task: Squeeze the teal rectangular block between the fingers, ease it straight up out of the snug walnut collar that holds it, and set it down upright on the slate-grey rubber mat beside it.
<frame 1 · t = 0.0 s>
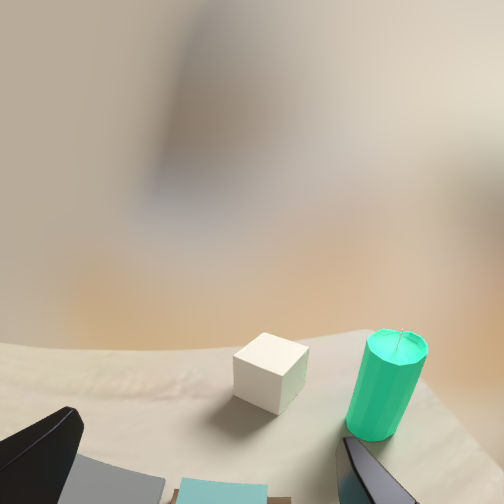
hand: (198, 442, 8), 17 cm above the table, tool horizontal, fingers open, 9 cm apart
white cube: (269, 392, 32), on the table
candle: (371, 423, 26), on the table
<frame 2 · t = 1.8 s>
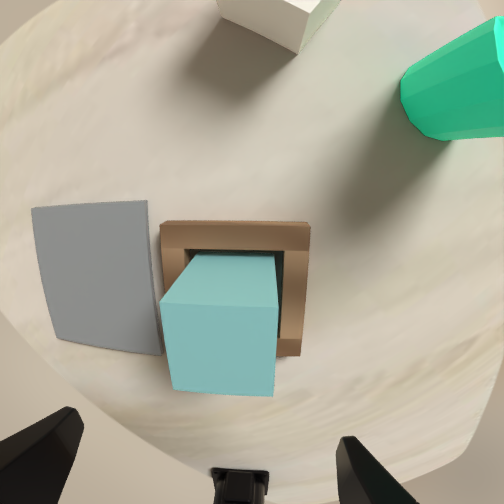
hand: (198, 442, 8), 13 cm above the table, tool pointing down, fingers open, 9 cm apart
white cube: (282, 8, 15), on the table
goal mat: (91, 279, 21), on the table
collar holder: (235, 287, 20), on the table
candle: (432, 101, 16), on the table
teal rectangular block: (236, 287, 20), resting in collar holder
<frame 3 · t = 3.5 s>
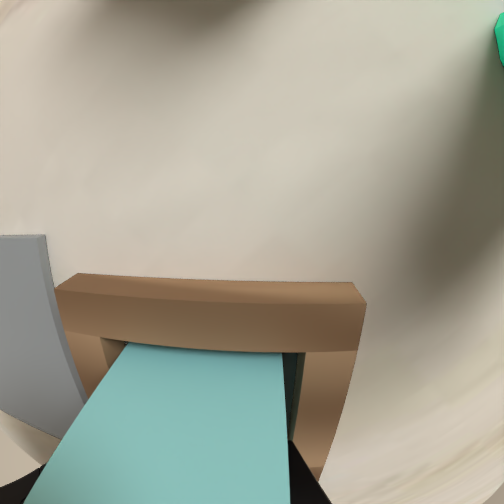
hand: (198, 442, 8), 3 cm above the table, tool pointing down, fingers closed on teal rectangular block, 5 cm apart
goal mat: (4, 347, 11), on the table
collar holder: (210, 392, 10), on the table
teal rectangular block: (210, 391, 10), resting in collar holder, touching gripper
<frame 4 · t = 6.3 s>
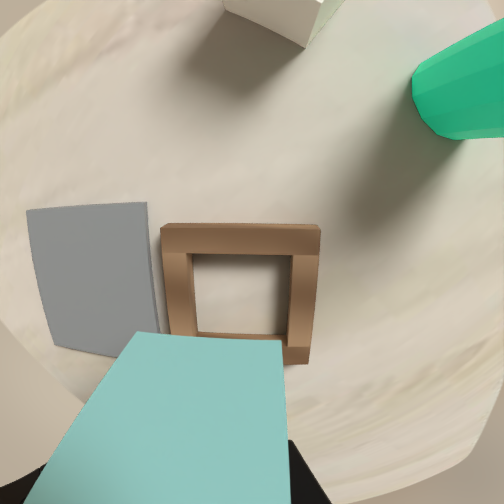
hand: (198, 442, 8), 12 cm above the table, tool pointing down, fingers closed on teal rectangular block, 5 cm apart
white cube: (288, 1, 14), on the table
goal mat: (89, 285, 20), on the table
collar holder: (241, 293, 19), on the table
candle: (444, 99, 15), on the table
teal rectangular block: (210, 391, 10), point 9 cm above the table, touching gripper
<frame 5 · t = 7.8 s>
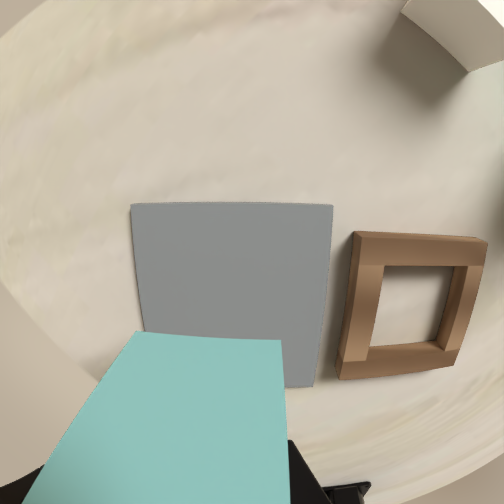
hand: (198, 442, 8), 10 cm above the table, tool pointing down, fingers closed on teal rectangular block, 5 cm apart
white cube: (447, 20, 12), on the table
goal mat: (230, 304, 17), on the table
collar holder: (410, 304, 17), on the table
teal rectangular block: (209, 391, 10), point 7 cm above the table, touching gripper
when the fingers open (4 cm above the table, at t = 9.1 s): teal rectangular block drops 1 cm, resting on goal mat.
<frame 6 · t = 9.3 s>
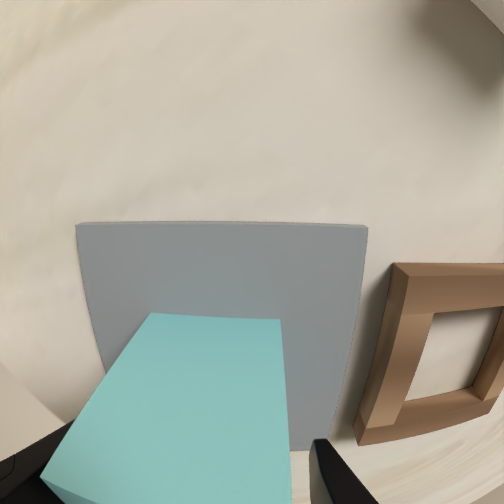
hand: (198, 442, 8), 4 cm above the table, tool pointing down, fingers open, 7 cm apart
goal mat: (216, 361, 12), on the table
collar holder: (451, 350, 12), on the table
teal rectangular block: (216, 368, 12), resting on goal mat
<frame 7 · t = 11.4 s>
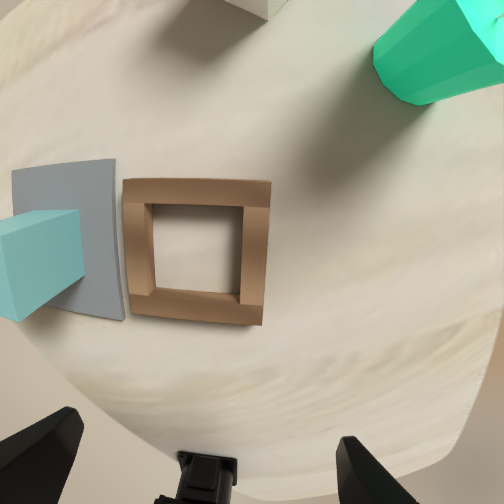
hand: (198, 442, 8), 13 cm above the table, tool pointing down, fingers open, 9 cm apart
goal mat: (61, 240, 20), on the table
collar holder: (196, 248, 19), on the table
candle: (409, 67, 15), on the table
teal rectangular block: (57, 241, 19), resting on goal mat
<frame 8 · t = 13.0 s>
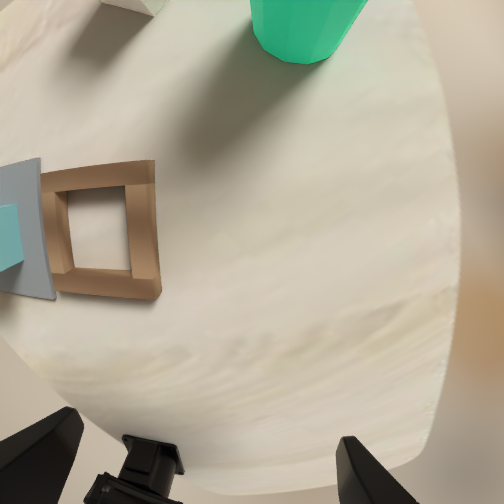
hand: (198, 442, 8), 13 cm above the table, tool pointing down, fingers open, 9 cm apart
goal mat: (7, 231, 20), on the table
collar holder: (100, 229, 20), on the table
candle: (297, 29, 15), on the table
teal rectangular block: (4, 232, 20), resting on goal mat
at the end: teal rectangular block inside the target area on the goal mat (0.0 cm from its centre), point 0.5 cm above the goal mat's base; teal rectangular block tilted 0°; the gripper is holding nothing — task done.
